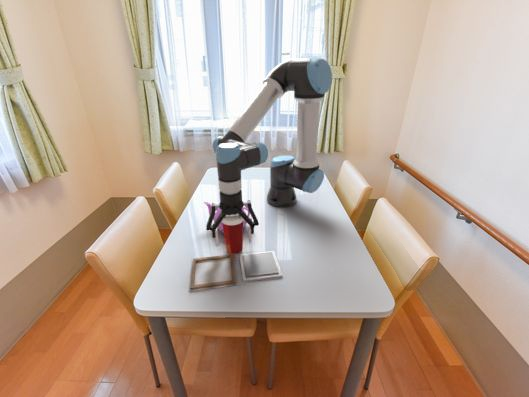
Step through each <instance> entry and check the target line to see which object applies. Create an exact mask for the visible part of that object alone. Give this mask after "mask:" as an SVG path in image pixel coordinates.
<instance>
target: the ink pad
mask: <svg viewBox="0 0 529 397" xmlns="http://www.w3.org/2000/svg"><path fill="white" fill-rule="evenodd" d="M238 255H239V261H240V262H239V264H240V268H241V277H242V283H246V282H254V281H262V280H263V281H264V280H270V279H278V278H279V279H280V278H283V273H282V270H281V267H280V264H279V261H278V258H277V254H276V252H275V250H269V251H261V252H252V253H244V254H243V253H242V254H238Z"/></svg>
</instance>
